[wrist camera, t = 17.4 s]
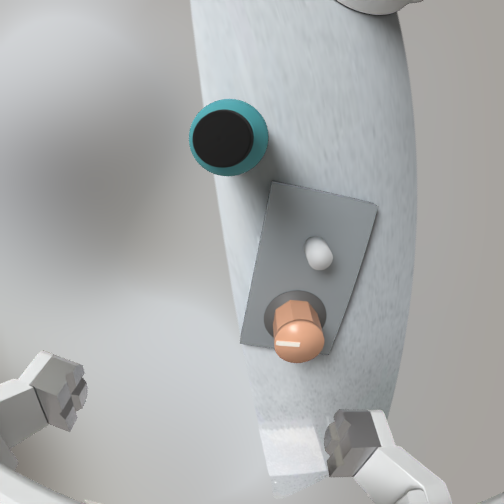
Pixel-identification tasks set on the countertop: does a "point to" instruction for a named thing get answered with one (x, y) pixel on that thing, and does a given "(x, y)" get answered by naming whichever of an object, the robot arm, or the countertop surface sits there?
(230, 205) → the countertop surface
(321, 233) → the mount
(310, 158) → the countertop surface
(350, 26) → the countertop surface
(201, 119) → the beverage bottle
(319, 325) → the knob
